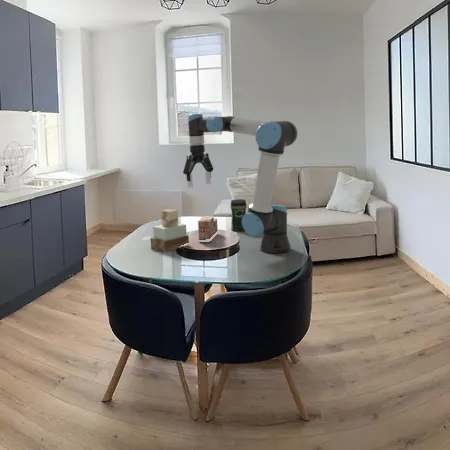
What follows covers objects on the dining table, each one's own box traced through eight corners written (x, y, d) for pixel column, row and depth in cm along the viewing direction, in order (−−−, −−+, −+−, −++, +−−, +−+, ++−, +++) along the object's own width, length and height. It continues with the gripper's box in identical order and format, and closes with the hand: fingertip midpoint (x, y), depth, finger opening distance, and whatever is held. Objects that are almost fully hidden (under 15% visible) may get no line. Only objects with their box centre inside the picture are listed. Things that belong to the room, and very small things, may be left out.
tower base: (189, 246, 267) (188, 235, 265) (166, 252, 255) (165, 241, 254) (174, 243, 275) (173, 232, 273) (151, 249, 263) (150, 238, 262)
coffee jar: (246, 228, 304) (246, 198, 300) (247, 231, 296) (247, 200, 292) (230, 228, 303) (229, 198, 300) (231, 231, 296) (230, 200, 292)
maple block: (178, 225, 263) (177, 210, 261) (169, 227, 258) (168, 211, 257) (170, 223, 267) (169, 209, 265) (161, 225, 262) (160, 210, 261)
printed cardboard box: (207, 233, 293) (206, 213, 290) (217, 234, 292) (217, 213, 289) (198, 242, 272) (197, 220, 270) (210, 243, 271) (209, 220, 269)
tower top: (186, 235, 265) (185, 224, 264) (165, 240, 256) (164, 229, 254) (174, 232, 272) (174, 222, 271) (153, 237, 263) (153, 226, 261)
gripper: (208, 143, 269) (210, 182, 273) (174, 146, 251) (177, 188, 255) (218, 143, 264) (220, 183, 268) (184, 146, 246) (187, 189, 250)
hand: (199, 185), depth 262 cm, fingers open, 13 cm apart
